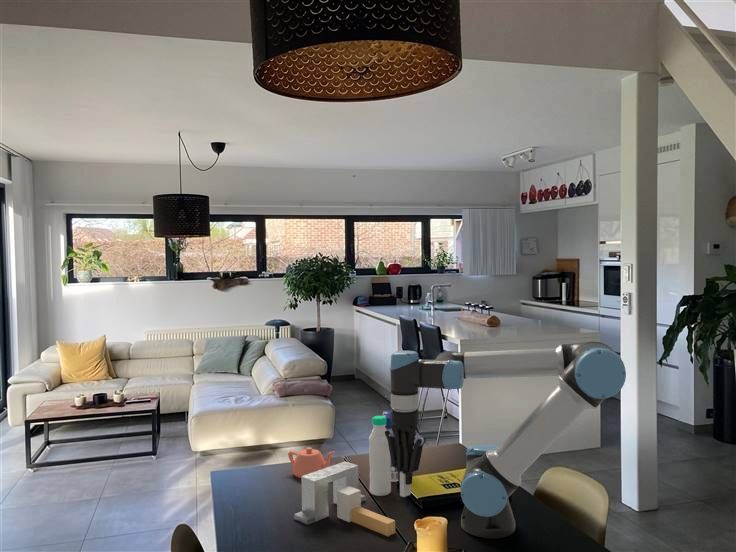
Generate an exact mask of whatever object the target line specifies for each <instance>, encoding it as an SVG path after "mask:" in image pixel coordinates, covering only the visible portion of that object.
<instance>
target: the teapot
mask: <svg viewBox="0 0 736 552" xmlns="http://www.w3.org/2000/svg"><path fill="white" fill-rule="evenodd" d="M335 452H336V451H334V450H333V451H329V452H328V453H327V456H326V460H325V458H324V456H323V454H322V452H321V451H320V450H318V449H315V448H314V449H313V447H311V446H310V447H306V448H305V449H302V450H300V451H298V452H296V451H293V450H292V451H291V450H290V451H288V453H287V457H288V459H289V461H290V463H291V464H292V473H293V476H295V477H296V478H297V477H298V478H297V479H300V478H301V476H304V475H307V474H310V473H312V472H315V471H318V470H321V469H324V468H327V467H330V466H331V465H330V464H331V459H332V455H333V454H334V453H335ZM293 455H295V459H294V457H293Z"/></svg>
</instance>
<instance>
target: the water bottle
mask: <svg viewBox="0 0 736 552" xmlns="http://www.w3.org/2000/svg"><path fill="white" fill-rule="evenodd" d="M386 423H387V420H386V417H384V416H382V415H375V416H373V417H372V418H371V424H372V426H373V428H372V430H371V433H370V434H369V437H368V442H369V446H368V447H369V450H368V460H369V462H368V463H369V464H368V465H369V492H370V493H371V495H373V496H376V497H384V496H388V495H389V494H391V492H392V486H391V485H392V482H390V480H391V472H390V464H391V457H390V451H389V445H388V440H387V437H386V435H385V431H387V430H386V428H385V426H386Z"/></svg>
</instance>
